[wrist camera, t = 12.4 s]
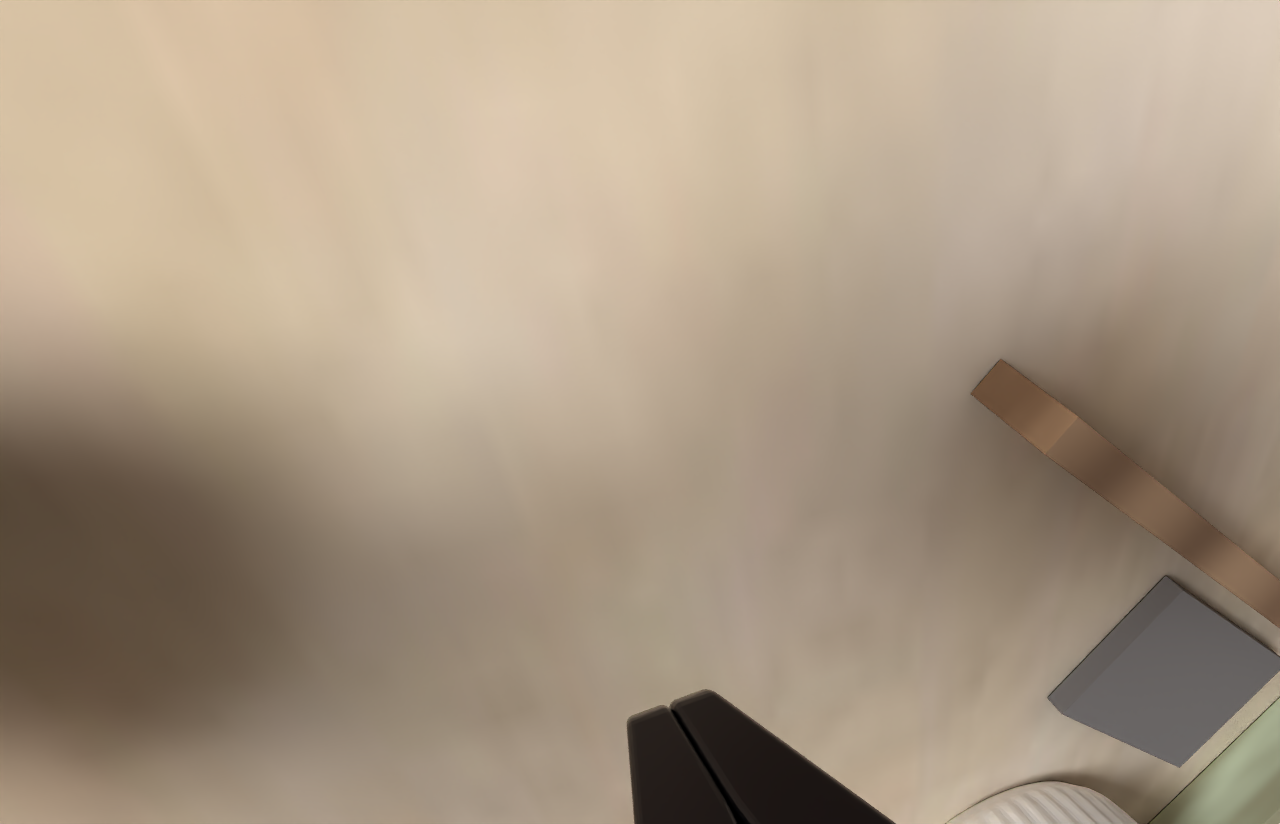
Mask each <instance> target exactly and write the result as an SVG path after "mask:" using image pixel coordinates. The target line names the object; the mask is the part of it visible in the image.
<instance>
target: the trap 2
mask: <svg viewBox="0 0 1280 824" xmlns="http://www.w3.org/2000/svg"><path fill="white" fill-rule="evenodd" d="M1279 671H1280V656H1278V655H1277V654H1276V653H1275V652H1274V651H1272V650H1271V649H1270V648H1268V647H1267V646H1266V645H1264V644H1263V643H1261V642H1260V641H1258V640H1257V639H1256V638H1254V637H1253V636H1251V635H1250V634H1248V633H1247V632H1246V631H1244V630H1243V629H1241V628H1240V627H1238V626H1237V625H1235V624H1234V623H1233V622H1231V621H1230V620H1228V619H1227V618H1225V617H1224V616H1223V615H1221V614H1220V613H1218V612H1217V611H1215V610H1214V609H1213V608H1211V607H1210V606H1208V605H1207V604H1205V603H1204V602H1202V601H1201V600H1200V599H1198V598H1197V597H1195V596H1194V595H1192V594H1191V593H1190V592H1188V591H1187V590H1185V589H1184V588H1182V587H1181V586H1180V585H1178V584H1177V583H1175V582H1174V581H1172V580H1171V579H1170V578H1168V577H1167V576H1165V577H1164V578H1163V579H1162V580H1161V581H1160V582H1159V583H1158V584H1157V585H1156V586H1155V587H1154V588H1153V589H1152V590H1151V591H1150V592H1149V593H1148V594H1147V596H1146V597H1145V598H1144V599H1143V600H1142V601H1141V602H1140V603H1139V604H1138V605H1137V606H1136V607H1135V608H1134V609H1133V610H1132V611H1131V612H1130V613H1129V614H1128V615H1127V616H1126V617H1125V618H1124V619H1123V620H1122V621H1121V622H1120V623H1119V624H1118V625H1117V627H1116V628H1115V629H1114V630H1113V631H1112V632H1111V633H1110V634H1109V635H1108V636H1107V637H1106V638H1105V639H1104V640H1103V641H1102V642H1101V643H1100V644H1099V645H1098V646H1097V647H1096V648H1095V649H1094V650H1093V651H1092V652H1091V653H1090V654H1089V655H1088V656H1087V658H1086V659H1085V660H1084V661H1083V662H1082V663H1081V664H1080V665H1079V666H1078V667H1077V668H1076V669H1075V670H1074V671H1073V672H1072V673H1071V674H1070V675H1069V676H1068V677H1067V678H1066V679H1065V680H1064V681H1063V682H1062V683H1061V684H1060V685H1059V686H1058V687H1057V689H1056V690H1055V691H1054V692H1053V693H1052V694H1051V695H1050V696H1049V697H1048V699H1049V700H1050V701H1051V703H1052V704H1053V705H1054V706H1055V707H1056V708H1057V709H1058V710H1059V711H1060V712H1061V713H1062V714H1063V715H1065V716H1067V717H1069V718H1072V719H1074V720H1076V721H1078V722H1080V723H1083V724H1085V725H1087V726H1089V727H1091V728H1094V729H1096V730H1098V731H1100V732H1102V733H1105V734H1107V735H1109V736H1111V737H1113V738H1116V739H1118V740H1120V741H1122V742H1124V743H1127V744H1129V745H1131V746H1133V747H1135V748H1138V749H1140V750H1142V751H1144V752H1146V753H1149V754H1151V755H1153V756H1155V757H1157V758H1160V759H1162V760H1164V761H1166V762H1168V763H1171V764H1173V765H1175V766H1177V767H1179V768H1180V767H1181V766H1182V765H1183V764H1184V763H1185V762H1186V761H1187V760H1188V759H1189V758H1190V757H1191V756H1192V755H1193V754H1194V753H1195V752H1196V751H1197V750H1198V749H1199V748H1200V747H1201V746H1202V745H1204V744H1205V743H1206V742H1207V741H1208V740H1209V739H1210V738H1211V737H1212V736H1213V735H1214V734H1215V733H1216V732H1217V731H1218V730H1219V729H1220V728H1221V727H1222V726H1223V725H1224V724H1225V723H1226V722H1227V721H1228V720H1229V719H1230V718H1231V717H1232V716H1233V715H1234V714H1235V713H1236V712H1237V711H1239V710H1240V709H1241V708H1242V707H1243V706H1244V705H1245V704H1246V703H1247V702H1248V701H1249V700H1250V699H1251V698H1252V697H1253V696H1254V695H1255V694H1256V693H1257V692H1258V691H1259V690H1260V689H1261V688H1262V687H1263V686H1264V685H1265V684H1266V683H1267V682H1268V681H1269V680H1270V679H1271V678H1272V677H1274V676H1275V675H1276V674H1277V673H1278V672H1279Z"/></svg>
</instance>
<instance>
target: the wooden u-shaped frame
mask: <svg viewBox="0 0 1280 824" xmlns="http://www.w3.org/2000/svg"><path fill="white" fill-rule="evenodd" d="M971 395H972V396H974V397H975V398H976V399H977V400H979V401H980V402H981V403H982V404H984V405H985V406H986V407H987V408H988V409H990V410H991V411H992V412H993V413H995V414H996V415H997V416H998V417H999V418H1001V419H1002V420H1003V421H1004V422H1006V423H1007V424H1008V425H1009V426H1011V427H1012V428H1013V429H1014V430H1015V431H1017V432H1018V433H1019V434H1020V435H1022V436H1023V437H1024V438H1025V439H1026V440H1028V441H1029V442H1030V443H1031V444H1033V445H1034V446H1035V447H1036V448H1037V449H1039V450H1040V451H1041V452H1042V453H1044V454H1045V455H1046V456H1048V457H1049V458H1050V459H1052V460H1053V461H1054V462H1056V463H1057V464H1058V465H1060V466H1061V467H1062V468H1064V469H1065V470H1066V471H1068V472H1069V473H1071V474H1072V475H1073V476H1075V477H1076V478H1077V479H1079V480H1080V481H1081V482H1083V483H1084V484H1085V485H1087V486H1088V487H1089V488H1091V489H1092V490H1094V491H1095V492H1096V493H1098V494H1099V495H1100V496H1102V497H1103V498H1104V499H1106V500H1107V501H1108V502H1110V503H1111V504H1112V505H1114V506H1115V507H1117V508H1118V509H1119V510H1121V511H1122V512H1123V513H1125V514H1126V515H1127V516H1129V517H1130V518H1131V519H1133V520H1134V521H1135V522H1137V523H1138V524H1140V525H1141V526H1142V527H1144V528H1145V529H1146V530H1148V531H1149V532H1150V533H1152V534H1153V535H1154V536H1156V537H1157V538H1158V539H1160V540H1161V541H1163V542H1164V543H1165V544H1167V545H1168V546H1169V547H1171V548H1172V549H1173V550H1175V551H1176V552H1177V553H1179V554H1180V555H1181V556H1183V557H1184V558H1186V559H1187V560H1188V561H1190V562H1191V563H1192V564H1194V565H1195V566H1196V567H1198V568H1199V569H1200V570H1202V571H1203V572H1204V573H1206V574H1207V575H1209V576H1210V577H1211V578H1213V579H1214V580H1215V581H1217V582H1218V583H1219V584H1221V585H1222V586H1223V587H1225V588H1226V589H1227V590H1229V591H1230V592H1231V593H1233V594H1234V595H1236V596H1237V597H1238V598H1240V599H1241V600H1242V601H1244V602H1245V603H1246V604H1248V605H1249V606H1250V607H1252V608H1253V609H1254V610H1256V611H1257V612H1259V613H1260V614H1261V615H1263V616H1264V617H1265V618H1267V619H1268V620H1269V621H1271V622H1272V623H1273V624H1275V625H1276V626H1277V627H1279V628H1280V580H1279V579H1277V578H1276V577H1275V576H1274V575H1272V574H1271V573H1270V572H1269V571H1268V570H1266V569H1265V568H1264V567H1263V566H1261V565H1260V564H1259V563H1258V562H1257V561H1255V560H1254V559H1253V558H1252V557H1250V556H1249V555H1248V554H1247V553H1245V552H1244V551H1243V550H1242V549H1241V548H1239V547H1238V546H1237V545H1236V544H1234V543H1233V542H1232V541H1231V540H1229V539H1228V538H1227V537H1226V536H1225V535H1223V534H1222V533H1221V532H1220V531H1218V530H1217V529H1216V528H1215V527H1213V526H1212V525H1211V524H1210V523H1209V522H1207V521H1206V520H1205V519H1204V518H1202V517H1201V516H1200V515H1199V514H1197V513H1196V512H1195V511H1194V510H1193V509H1191V508H1190V507H1189V506H1188V505H1186V504H1185V503H1184V502H1183V501H1181V500H1180V499H1179V498H1178V497H1177V496H1175V495H1174V494H1173V493H1172V492H1170V491H1169V490H1168V489H1167V488H1165V487H1164V486H1163V485H1162V484H1161V483H1159V482H1158V481H1157V480H1156V479H1154V478H1153V477H1152V476H1151V475H1149V474H1148V473H1147V472H1146V471H1145V470H1143V469H1142V468H1141V467H1140V466H1138V465H1137V464H1136V463H1135V462H1133V461H1132V460H1131V459H1130V458H1129V457H1127V456H1126V455H1125V454H1124V453H1122V452H1121V451H1120V450H1119V449H1117V448H1116V447H1115V446H1114V445H1113V444H1111V443H1110V442H1109V441H1108V440H1106V439H1105V438H1104V437H1103V436H1102V435H1100V434H1099V433H1098V432H1097V431H1095V430H1094V429H1093V428H1092V427H1090V426H1089V425H1088V424H1087V423H1086V422H1084V421H1083V420H1082V419H1081V418H1079V417H1078V416H1077V415H1075V414H1074V413H1073V412H1071V411H1070V410H1069V409H1067V408H1066V407H1065V406H1063V405H1062V404H1061V403H1059V402H1058V401H1057V400H1055V399H1054V398H1053V397H1051V396H1050V395H1049V394H1047V393H1046V392H1045V391H1043V390H1042V389H1041V388H1039V387H1038V386H1036V385H1035V384H1034V383H1032V382H1031V381H1030V380H1028V379H1027V378H1026V377H1024V376H1023V375H1022V374H1020V373H1019V372H1018V371H1016V370H1015V369H1014V368H1012V367H1011V366H1010V365H1008V364H1007V363H1006V362H1004V361H1003V360H1002V359H1000V360H999V362H998V363H997V364H996V365H995V366H994V367H993V368H992V370H991V371H990V372H989V373H988V374H987V375H986V377H985V378H984V379H983V380H982V381H981V382H980V384H979V385H978V386H977V387H976V388H975V389H974V390H973V392H972V393H971ZM1279 823H1280V698H1279V699H1278V700H1277V701H1276V702H1275V703H1274V704H1273V705H1272V706H1271V707H1269V708H1268V709H1267V710H1266V711H1265V712H1264V713H1263V714H1262V715H1261V716H1260V717H1259V718H1258V719H1257V720H1256V721H1255V722H1254V723H1253V724H1252V725H1251V726H1250V727H1249V728H1248V729H1247V730H1246V731H1245V732H1244V733H1242V734H1241V735H1240V736H1239V737H1238V738H1237V739H1236V740H1235V741H1234V742H1233V743H1232V744H1231V745H1230V746H1229V747H1228V748H1227V749H1226V750H1225V751H1224V752H1223V753H1222V754H1221V755H1220V756H1219V757H1218V758H1217V759H1216V760H1214V761H1213V762H1212V763H1211V764H1210V765H1209V766H1208V767H1207V768H1206V769H1205V770H1204V771H1203V772H1202V773H1201V774H1200V775H1199V776H1198V777H1197V778H1196V779H1195V780H1194V781H1193V782H1192V783H1191V784H1190V785H1189V786H1187V787H1186V788H1185V789H1184V790H1183V791H1182V792H1181V793H1180V794H1179V795H1178V796H1177V797H1176V798H1175V799H1174V800H1173V801H1172V802H1171V803H1170V804H1169V805H1168V806H1167V807H1166V808H1165V809H1164V810H1163V811H1162V812H1161V813H1159V814H1158V815H1157V816H1156V817H1155V818H1154V819H1153V820H1152V821H1151V822H1150V823H1149V824H1279Z"/></svg>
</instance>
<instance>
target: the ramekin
mask: <svg viewBox="0 0 1280 824" xmlns="http://www.w3.org/2000/svg"><path fill="white" fill-rule="evenodd" d="M946 824H1138V823H1137V822H1136V821H1135V820H1134V819H1133V818H1131V817H1130V816H1129V815H1128V814H1127V813H1126V812H1124V811H1123V810H1122V809H1121V808H1120V807H1118V806H1117V805H1116V804H1115V803H1114V802H1112V801H1111V800H1110V799H1108V798H1107V797H1105V796H1104V795H1102V794H1100V793H1098V792H1096V791H1093V790H1092V789H1090V788H1087V787H1082V786H1077V785H1072V784H1069V783H1064V782H1057V781H1045V782H1038V783H1032V784H1027V785H1023V786H1019V787H1016V788H1012V789H1009V790H1007V791H1004V792H1002V793H999V794H997V795H994V796H992V797H990V798H988V799H986V800H984V801H982V802H980V803H978V804H976V805H974V806H972V807H970V808H969V809H967V810H965V811H964V812H962V813H960V814H959V815H957V816H956V817H954V818H953V819H951V820H950V821H949V822H947V823H946Z"/></svg>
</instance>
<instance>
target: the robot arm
mask: <svg viewBox="0 0 1280 824" xmlns="http://www.w3.org/2000/svg"><path fill="white" fill-rule="evenodd" d="M627 736H628V749H629V761H630V774H631V787H632V799H633V812H634V824H896V823H894V822H893V821H892V820H890V819H889V818H888V817H886V816H885V815H883V814H882V813H881V812H879V811H878V810H877V809H875V808H874V807H872V806H871V805H870V804H868V803H867V802H866V801H864V800H863V799H861V798H860V797H859V796H857V795H856V794H855V793H853V792H852V791H850V790H849V789H848V788H846V787H845V786H844V785H842V784H841V783H839V782H838V781H837V780H835V779H834V778H833V777H831V776H830V775H829V774H827V773H826V772H824V771H823V770H822V769H820V768H819V767H818V766H816V765H815V764H813V763H812V762H811V761H809V760H808V759H807V758H805V757H804V756H802V755H801V754H800V753H798V752H797V751H796V750H794V749H793V748H791V747H790V746H789V745H787V744H786V743H785V742H783V741H782V740H780V739H779V738H778V737H776V736H775V735H774V734H772V733H771V732H769V731H768V730H767V729H765V728H764V727H763V726H761V725H760V724H758V723H757V722H756V721H754V720H753V719H752V718H750V717H749V716H747V715H746V714H745V713H743V712H742V711H741V710H739V709H738V708H736V707H735V706H734V705H732V704H731V703H730V702H728V701H727V700H725V699H724V698H723V697H721V696H720V695H719V694H717V693H716V692H714V691H712V690H707V689H705V690H700V691H698V692H695V693H692V694H690V695H687V696H684V697H681V698H679V699H676V700H674V701H672V702H671V704H670V706H669V708H668V707H667V706H664V705H660V706H657V707H654V708H651V709H649V710H646V711H643V712H641V713H638V714H635V715H632V716H631V717H629V719H628V721H627Z"/></svg>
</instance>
